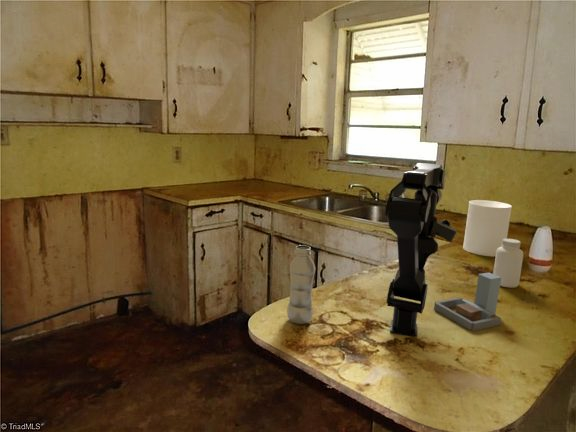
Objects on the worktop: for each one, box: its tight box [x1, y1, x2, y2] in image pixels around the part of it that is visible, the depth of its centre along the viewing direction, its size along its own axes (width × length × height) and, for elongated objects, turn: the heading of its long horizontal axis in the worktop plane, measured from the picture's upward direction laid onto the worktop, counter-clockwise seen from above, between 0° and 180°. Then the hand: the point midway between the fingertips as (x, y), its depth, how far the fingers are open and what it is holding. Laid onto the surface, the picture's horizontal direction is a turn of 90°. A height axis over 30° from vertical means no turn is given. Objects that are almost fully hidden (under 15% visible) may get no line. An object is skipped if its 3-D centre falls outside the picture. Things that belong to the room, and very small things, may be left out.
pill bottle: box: [492, 238, 524, 289], centre depth 140 cm, size 8×8×15 cm
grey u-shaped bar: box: [433, 297, 501, 332], centre depth 116 cm, size 10×14×2 cm
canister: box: [462, 199, 513, 257], centre depth 176 cm, size 16×16×20 cm
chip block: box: [454, 303, 482, 322], centre depth 116 cm, size 4×5×3 cm
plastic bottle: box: [286, 244, 316, 325], centre depth 108 cm, size 6×7×20 cm
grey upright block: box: [461, 272, 501, 320], centre depth 117 cm, size 6×9×11 cm
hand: (417, 267), depth 115 cm, fingers open, 9 cm apart
